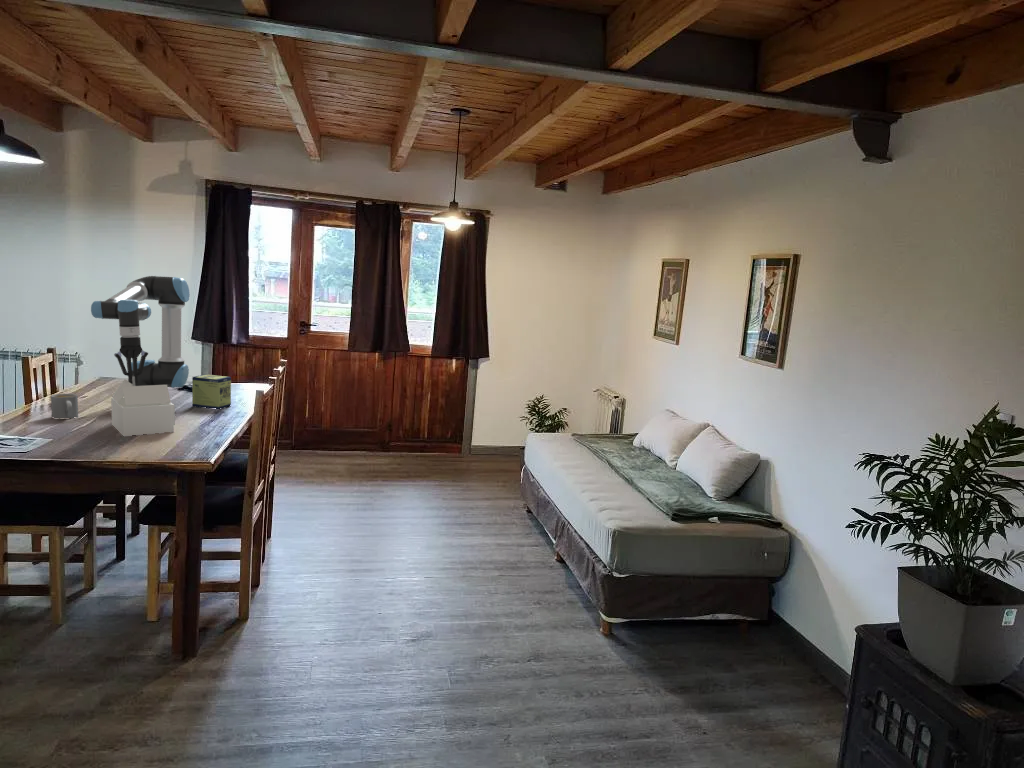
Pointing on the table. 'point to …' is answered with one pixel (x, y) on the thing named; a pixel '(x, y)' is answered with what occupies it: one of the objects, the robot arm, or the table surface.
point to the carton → (142, 418)
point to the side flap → (121, 391)
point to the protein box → (211, 391)
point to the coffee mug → (64, 405)
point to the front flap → (146, 395)
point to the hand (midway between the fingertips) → (133, 391)
